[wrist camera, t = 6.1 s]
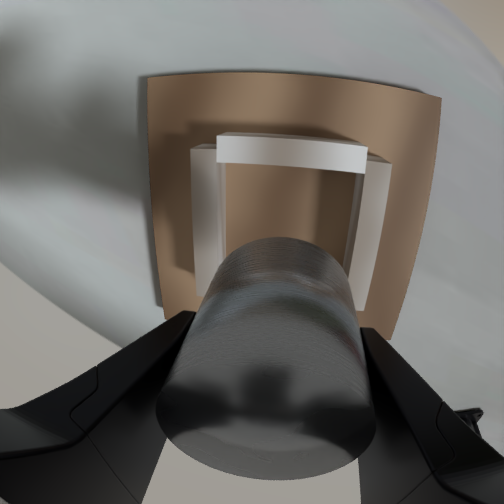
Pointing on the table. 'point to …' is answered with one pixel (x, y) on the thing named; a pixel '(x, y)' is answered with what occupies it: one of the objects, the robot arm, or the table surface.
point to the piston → (272, 368)
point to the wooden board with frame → (290, 178)
